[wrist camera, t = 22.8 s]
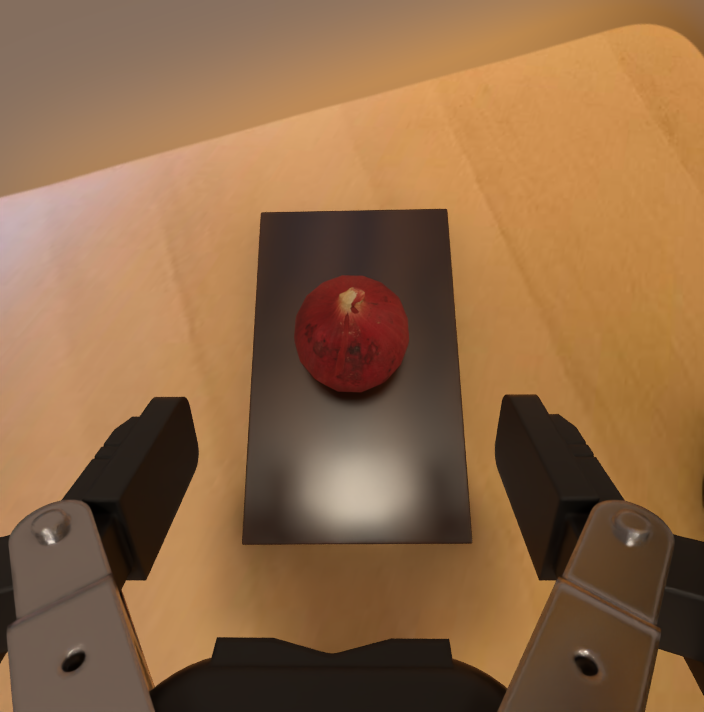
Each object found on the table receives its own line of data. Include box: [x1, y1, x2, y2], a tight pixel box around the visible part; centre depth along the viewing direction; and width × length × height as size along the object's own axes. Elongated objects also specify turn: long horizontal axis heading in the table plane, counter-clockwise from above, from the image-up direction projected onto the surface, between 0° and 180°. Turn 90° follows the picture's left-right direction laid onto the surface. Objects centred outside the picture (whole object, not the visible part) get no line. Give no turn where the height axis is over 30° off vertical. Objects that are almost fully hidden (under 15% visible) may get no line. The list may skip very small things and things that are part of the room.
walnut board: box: [242, 209, 472, 545], centre depth 28 cm, size 12×20×2 cm, turn 0°
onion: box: [294, 275, 409, 392], centre depth 24 cm, size 6×6×8 cm
